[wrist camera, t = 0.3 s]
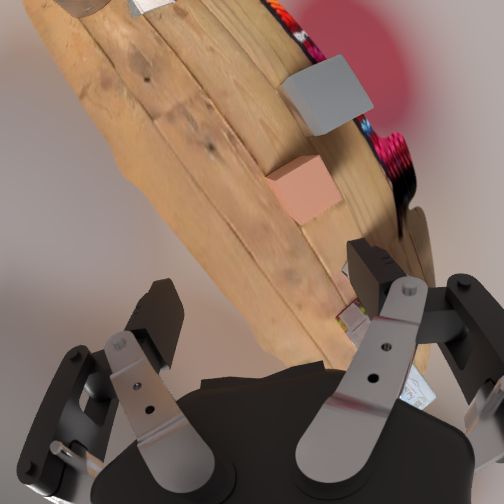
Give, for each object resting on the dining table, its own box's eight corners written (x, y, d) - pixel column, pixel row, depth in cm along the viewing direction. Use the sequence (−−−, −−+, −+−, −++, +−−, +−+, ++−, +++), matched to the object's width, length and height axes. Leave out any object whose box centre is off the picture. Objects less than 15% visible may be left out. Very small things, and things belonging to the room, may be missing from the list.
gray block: (281, 85, 32) (288, 76, 28) (329, 62, 31) (341, 53, 27) (314, 136, 34) (325, 134, 30) (360, 111, 33) (374, 107, 30)
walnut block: (275, 90, 35) (281, 83, 31) (320, 69, 35) (330, 61, 31) (305, 137, 38) (313, 135, 34) (348, 114, 37) (360, 110, 33)
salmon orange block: (264, 177, 39) (275, 181, 31) (300, 155, 38) (319, 154, 31) (286, 212, 41) (301, 225, 33) (320, 191, 40) (342, 199, 33)
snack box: (402, 352, 52) (438, 396, 38) (383, 370, 53) (415, 416, 39) (356, 296, 46) (401, 345, 32) (332, 318, 47) (368, 373, 33)
